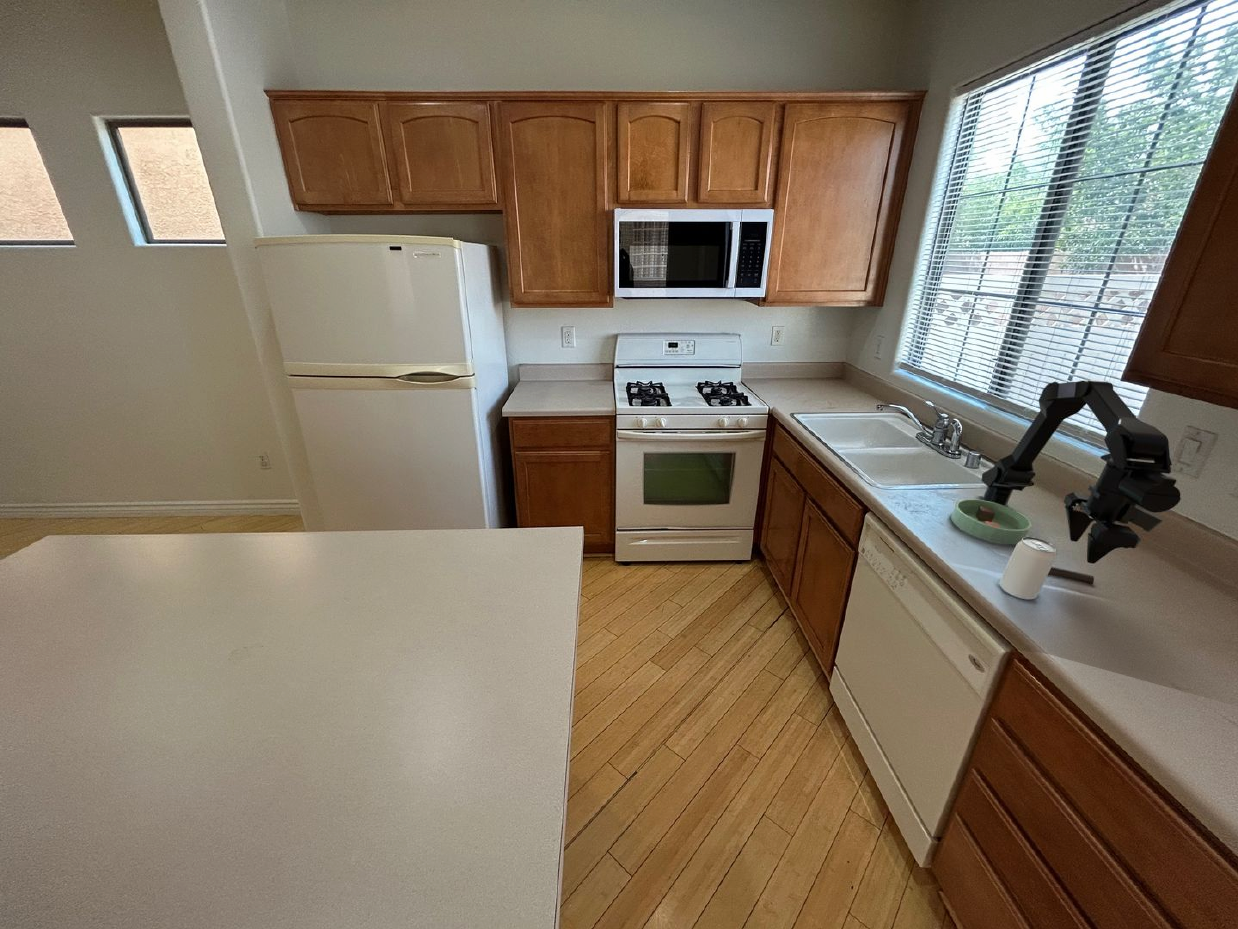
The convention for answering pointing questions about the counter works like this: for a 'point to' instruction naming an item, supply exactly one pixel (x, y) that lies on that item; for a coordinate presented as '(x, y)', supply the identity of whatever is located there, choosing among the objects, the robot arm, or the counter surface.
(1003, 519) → the bowl
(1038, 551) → the can
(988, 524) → the terracotta block
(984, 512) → the walnut block
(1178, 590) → the counter surface
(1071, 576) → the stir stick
